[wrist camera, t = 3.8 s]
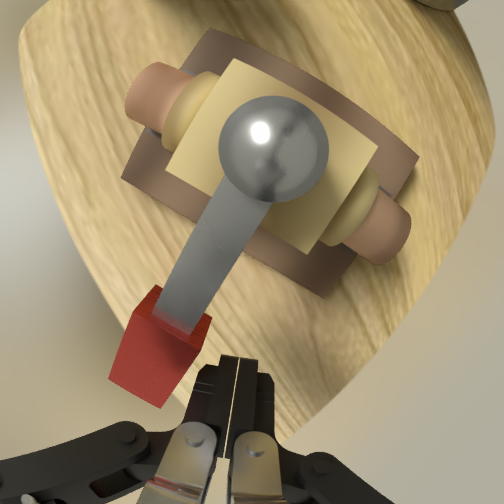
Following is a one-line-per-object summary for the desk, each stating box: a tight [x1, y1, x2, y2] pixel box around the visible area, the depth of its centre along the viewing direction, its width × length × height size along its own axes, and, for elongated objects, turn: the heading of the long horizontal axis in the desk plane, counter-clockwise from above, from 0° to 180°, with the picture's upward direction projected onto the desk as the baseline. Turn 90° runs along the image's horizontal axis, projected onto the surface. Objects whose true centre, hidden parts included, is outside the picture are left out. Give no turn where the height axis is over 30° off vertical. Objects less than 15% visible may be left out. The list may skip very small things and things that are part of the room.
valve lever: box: [108, 96, 329, 408], centre depth 8 cm, size 11×3×2 cm, turn 149°
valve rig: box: [121, 28, 419, 298], centre depth 12 cm, size 15×11×8 cm
